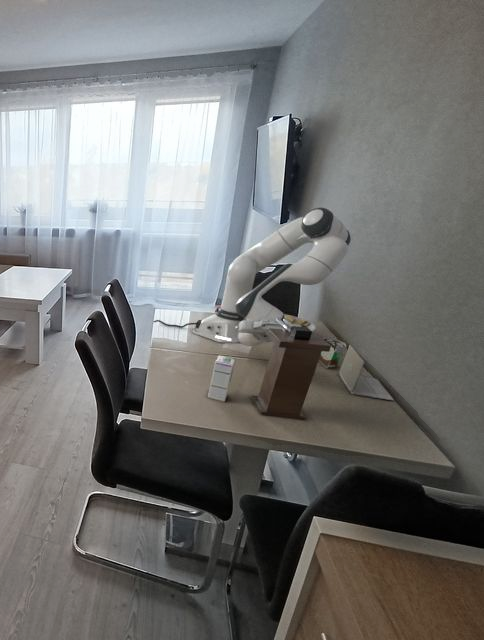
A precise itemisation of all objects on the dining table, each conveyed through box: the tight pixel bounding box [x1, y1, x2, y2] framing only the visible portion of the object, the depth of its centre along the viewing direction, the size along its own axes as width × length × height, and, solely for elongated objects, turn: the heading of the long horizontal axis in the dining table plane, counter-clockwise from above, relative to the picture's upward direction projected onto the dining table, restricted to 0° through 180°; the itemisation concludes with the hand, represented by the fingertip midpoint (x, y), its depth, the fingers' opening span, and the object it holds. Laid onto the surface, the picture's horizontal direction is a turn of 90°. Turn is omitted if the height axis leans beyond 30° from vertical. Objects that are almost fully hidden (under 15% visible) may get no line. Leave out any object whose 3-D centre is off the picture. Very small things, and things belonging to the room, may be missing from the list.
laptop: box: [338, 344, 394, 401], centre depth 153 cm, size 18×12×13 cm
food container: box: [318, 336, 348, 370], centre depth 172 cm, size 12×6×10 cm, turn 168°
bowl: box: [246, 313, 317, 333], centre depth 209 cm, size 30×30×8 cm
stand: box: [250, 328, 331, 421], centre depth 135 cm, size 12×14×26 cm
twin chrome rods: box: [276, 318, 312, 340], centre depth 135 cm, size 18×4×3 cm, turn 168°
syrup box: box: [207, 355, 236, 402], centre depth 144 cm, size 6×6×14 cm
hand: (278, 324), depth 145 cm, fingers open, 8 cm apart
